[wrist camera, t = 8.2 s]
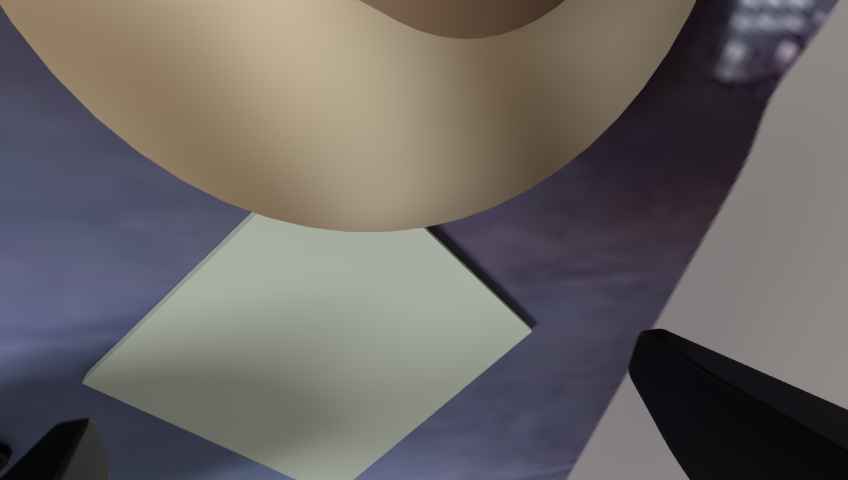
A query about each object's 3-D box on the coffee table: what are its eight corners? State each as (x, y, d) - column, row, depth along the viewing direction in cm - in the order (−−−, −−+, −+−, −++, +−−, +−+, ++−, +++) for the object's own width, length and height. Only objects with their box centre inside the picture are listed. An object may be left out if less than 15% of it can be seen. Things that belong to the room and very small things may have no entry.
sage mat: (332, 486, 28) (333, 496, 28) (86, 373, 21) (81, 383, 21) (527, 323, 26) (532, 331, 26) (330, 135, 19) (332, 140, 19)
